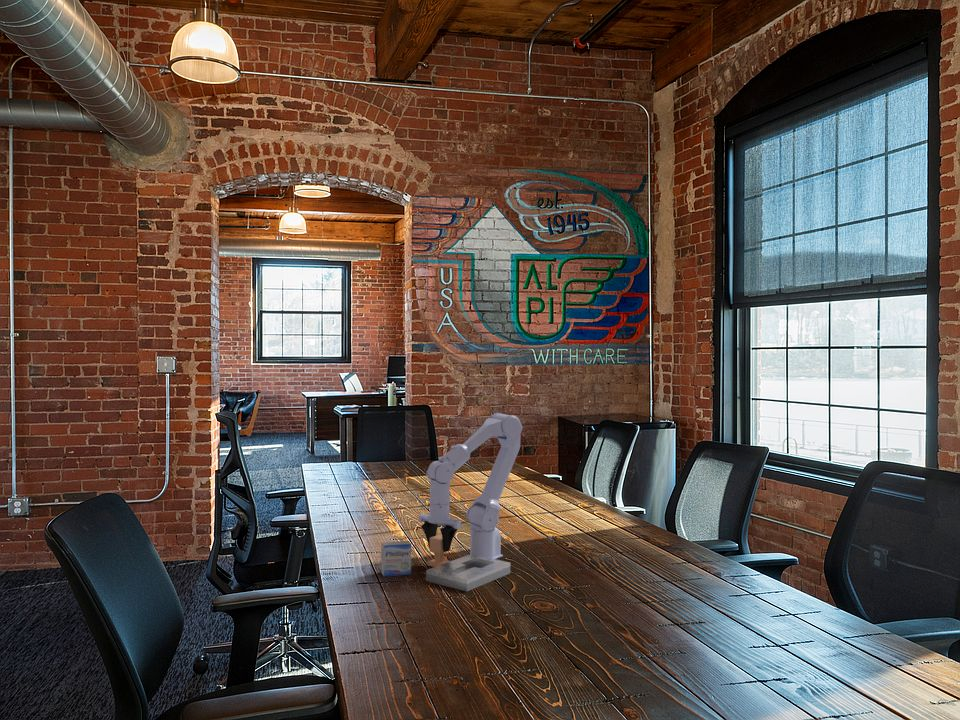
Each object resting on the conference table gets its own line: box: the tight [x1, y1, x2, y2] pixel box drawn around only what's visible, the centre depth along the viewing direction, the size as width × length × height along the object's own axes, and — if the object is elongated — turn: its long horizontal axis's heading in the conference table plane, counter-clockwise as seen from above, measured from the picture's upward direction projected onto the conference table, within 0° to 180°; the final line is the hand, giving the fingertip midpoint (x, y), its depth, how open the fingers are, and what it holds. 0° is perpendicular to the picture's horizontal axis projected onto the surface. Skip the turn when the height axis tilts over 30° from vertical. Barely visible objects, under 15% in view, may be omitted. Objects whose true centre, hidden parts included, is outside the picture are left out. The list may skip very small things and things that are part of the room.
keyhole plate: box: [425, 554, 511, 592], centre depth 207 cm, size 20×14×3 cm
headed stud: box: [426, 534, 451, 568], centre depth 218 cm, size 5×5×8 cm
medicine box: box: [380, 540, 412, 577], centre depth 210 cm, size 8×4×9 cm, turn 105°
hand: (439, 549), depth 218 cm, fingers open, 5 cm apart
